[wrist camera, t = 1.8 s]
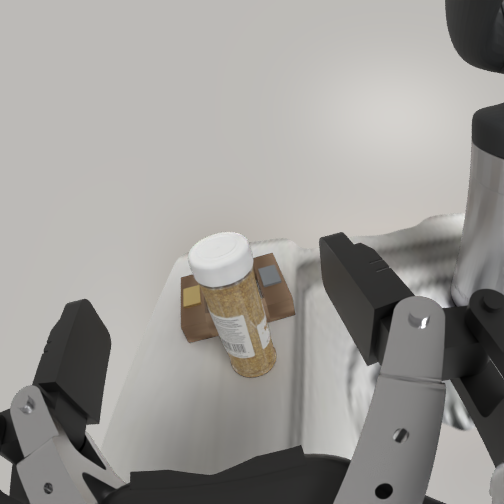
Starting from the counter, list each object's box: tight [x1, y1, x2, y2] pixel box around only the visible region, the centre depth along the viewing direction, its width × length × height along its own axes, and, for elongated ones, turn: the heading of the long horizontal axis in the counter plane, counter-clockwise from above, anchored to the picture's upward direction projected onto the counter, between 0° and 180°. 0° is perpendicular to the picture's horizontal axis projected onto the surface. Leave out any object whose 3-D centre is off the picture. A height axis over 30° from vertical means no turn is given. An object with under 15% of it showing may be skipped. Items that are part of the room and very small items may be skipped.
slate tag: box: [258, 265, 282, 287], centre depth 36 cm, size 2×3×1 cm, turn 10°
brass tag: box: [183, 285, 201, 309], centre depth 35 cm, size 2×3×1 cm, turn 10°
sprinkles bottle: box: [188, 232, 276, 377], centre depth 26 cm, size 5×5×14 cm
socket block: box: [181, 253, 295, 343], centre depth 36 cm, size 12×9×2 cm
